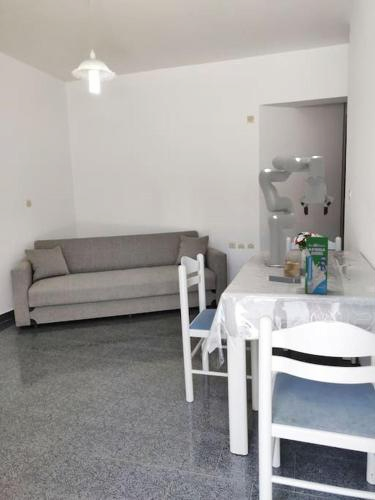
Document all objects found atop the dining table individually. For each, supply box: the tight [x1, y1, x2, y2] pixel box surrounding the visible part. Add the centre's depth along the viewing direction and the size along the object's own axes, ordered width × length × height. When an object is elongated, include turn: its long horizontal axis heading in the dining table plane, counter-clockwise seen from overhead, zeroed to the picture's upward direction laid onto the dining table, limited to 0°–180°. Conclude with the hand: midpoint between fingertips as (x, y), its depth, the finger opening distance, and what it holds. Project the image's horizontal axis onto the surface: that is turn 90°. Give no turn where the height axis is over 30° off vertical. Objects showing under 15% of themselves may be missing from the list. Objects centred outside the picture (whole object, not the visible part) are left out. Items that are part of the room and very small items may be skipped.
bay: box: [268, 267, 305, 285], centre depth 193 cm, size 15×20×5 cm
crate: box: [283, 260, 301, 278], centre depth 198 cm, size 6×6×7 cm
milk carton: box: [304, 235, 329, 295], centre depth 170 cm, size 9×9×25 cm
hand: (315, 214), depth 197 cm, fingers open, 9 cm apart
